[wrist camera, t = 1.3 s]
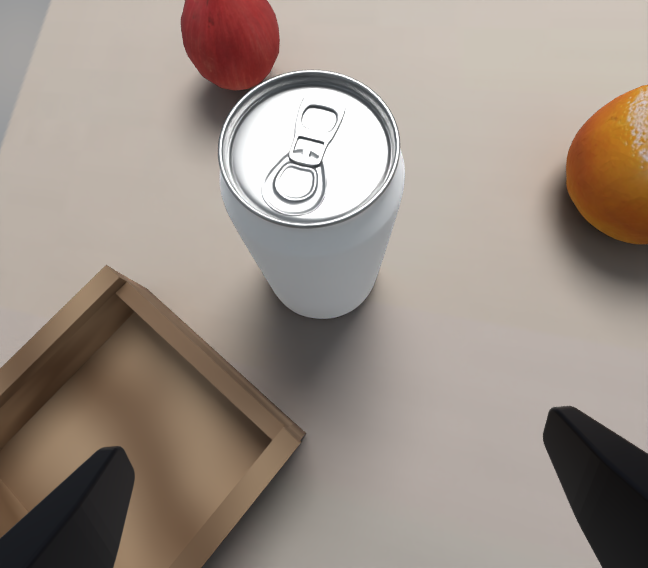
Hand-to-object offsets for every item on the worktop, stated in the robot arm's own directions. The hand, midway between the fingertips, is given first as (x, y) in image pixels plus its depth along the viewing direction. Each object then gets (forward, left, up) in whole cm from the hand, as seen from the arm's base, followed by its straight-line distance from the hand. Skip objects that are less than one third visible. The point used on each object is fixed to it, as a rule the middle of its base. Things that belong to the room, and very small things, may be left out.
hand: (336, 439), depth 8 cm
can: (+6, +6, -14) cm, 16 cm away
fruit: (+21, -5, -14) cm, 25 cm away
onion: (+13, +19, -14) cm, 27 cm away
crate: (-8, +7, -13) cm, 17 cm away
